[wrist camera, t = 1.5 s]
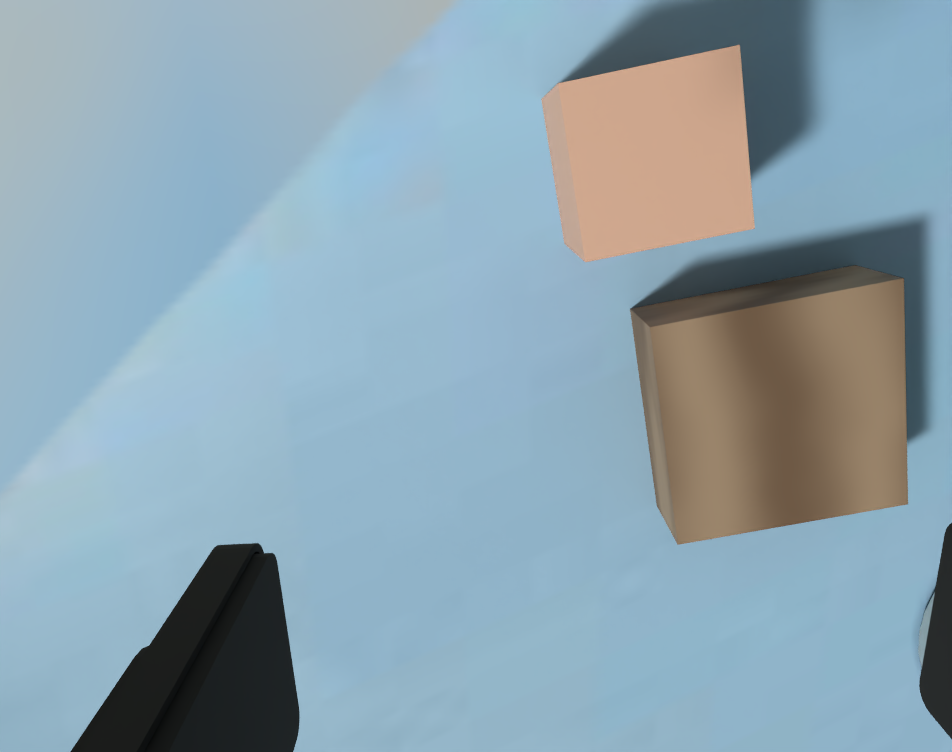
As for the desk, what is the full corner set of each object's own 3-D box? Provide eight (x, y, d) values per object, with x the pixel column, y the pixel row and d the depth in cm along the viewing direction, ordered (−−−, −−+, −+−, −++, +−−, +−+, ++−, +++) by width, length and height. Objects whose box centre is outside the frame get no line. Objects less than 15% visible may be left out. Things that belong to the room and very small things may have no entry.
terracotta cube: (686, 68, 28) (740, 44, 23) (701, 216, 30) (754, 228, 24) (541, 99, 29) (558, 83, 23) (564, 243, 30) (585, 262, 25)
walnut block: (850, 263, 31) (903, 278, 27) (858, 465, 34) (908, 504, 30) (628, 307, 32) (650, 327, 28) (655, 502, 34) (677, 544, 31)
